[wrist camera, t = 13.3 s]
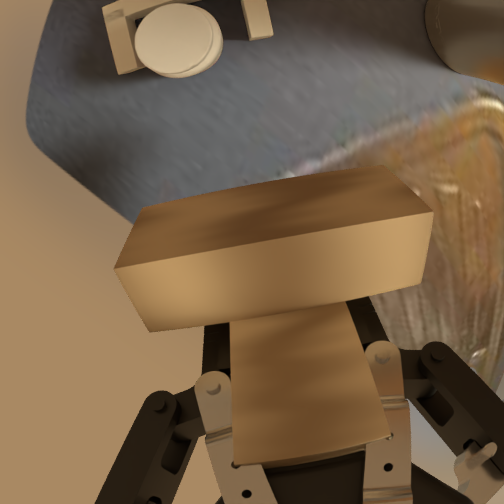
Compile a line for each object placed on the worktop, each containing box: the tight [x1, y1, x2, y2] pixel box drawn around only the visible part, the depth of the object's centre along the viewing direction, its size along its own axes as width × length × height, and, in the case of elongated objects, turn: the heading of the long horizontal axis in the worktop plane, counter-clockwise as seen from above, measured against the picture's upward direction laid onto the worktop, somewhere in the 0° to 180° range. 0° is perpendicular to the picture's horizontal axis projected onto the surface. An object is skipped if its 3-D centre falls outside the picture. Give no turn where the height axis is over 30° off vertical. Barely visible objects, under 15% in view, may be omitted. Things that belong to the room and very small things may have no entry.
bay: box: [102, 0, 274, 75], centre depth 17 cm, size 11×6×2 cm, turn 101°
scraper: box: [114, 165, 434, 469], centre depth 10 cm, size 10×7×9 cm
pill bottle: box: [135, 3, 223, 78], centre depth 16 cm, size 5×5×8 cm
